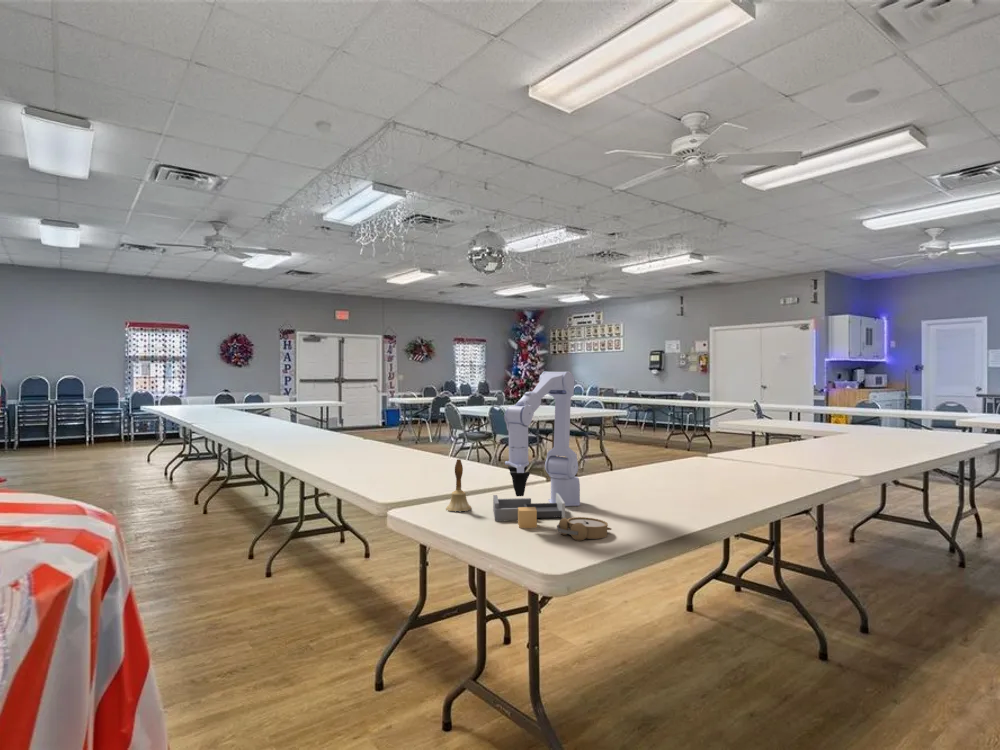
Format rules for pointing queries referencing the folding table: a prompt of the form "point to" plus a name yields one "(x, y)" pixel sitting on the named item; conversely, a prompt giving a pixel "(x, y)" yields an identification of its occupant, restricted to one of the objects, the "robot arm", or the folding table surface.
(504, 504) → the frame
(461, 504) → the hand bell
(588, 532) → the alarm clock
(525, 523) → the block
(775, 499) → the folding table surface
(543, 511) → the tray
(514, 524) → the folding table surface
